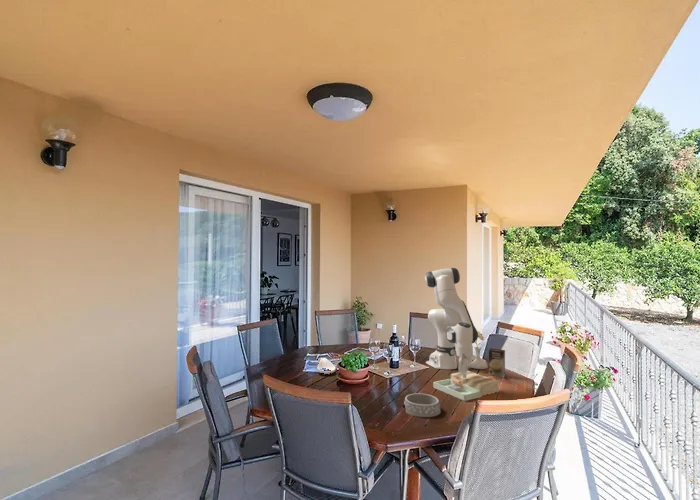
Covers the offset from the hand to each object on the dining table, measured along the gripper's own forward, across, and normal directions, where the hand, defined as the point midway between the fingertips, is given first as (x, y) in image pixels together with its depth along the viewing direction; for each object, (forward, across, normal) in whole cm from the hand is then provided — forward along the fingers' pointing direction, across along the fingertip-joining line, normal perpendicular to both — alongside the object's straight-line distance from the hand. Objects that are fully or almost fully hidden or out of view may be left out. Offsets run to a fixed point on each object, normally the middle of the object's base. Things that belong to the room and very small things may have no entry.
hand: (464, 377), depth 208 cm
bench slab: (+7, +6, -4) cm, 10 cm away
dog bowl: (+8, -37, +15) cm, 41 cm away
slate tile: (+4, -4, +5) cm, 8 cm away
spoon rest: (+7, -1, +89) cm, 89 cm away
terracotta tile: (+3, 0, +3) cm, 5 cm away
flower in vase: (+7, +50, -2) cm, 50 cm away
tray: (+7, -5, +4) cm, 9 cm away
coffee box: (+7, +37, -14) cm, 40 cm away
